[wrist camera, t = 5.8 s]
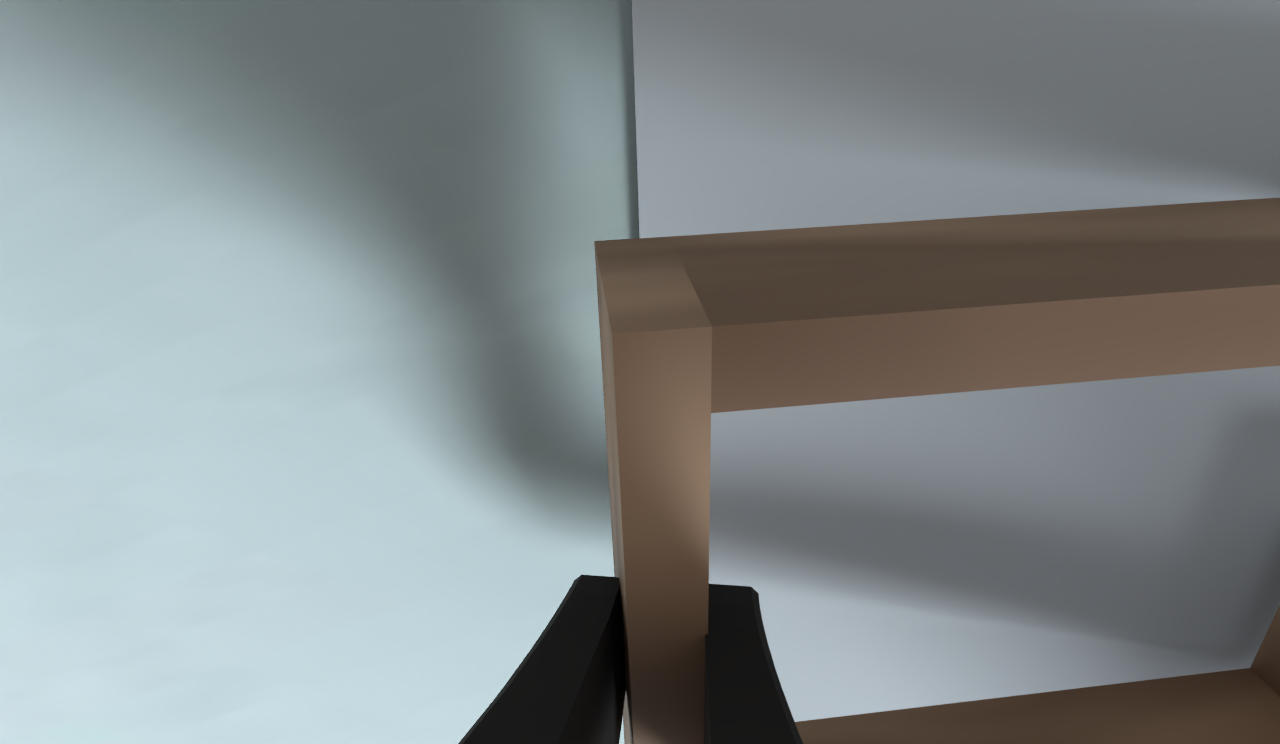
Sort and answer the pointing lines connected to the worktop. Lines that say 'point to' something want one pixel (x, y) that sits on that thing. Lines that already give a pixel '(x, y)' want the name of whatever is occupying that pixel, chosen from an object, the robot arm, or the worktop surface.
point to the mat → (989, 419)
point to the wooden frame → (903, 367)
